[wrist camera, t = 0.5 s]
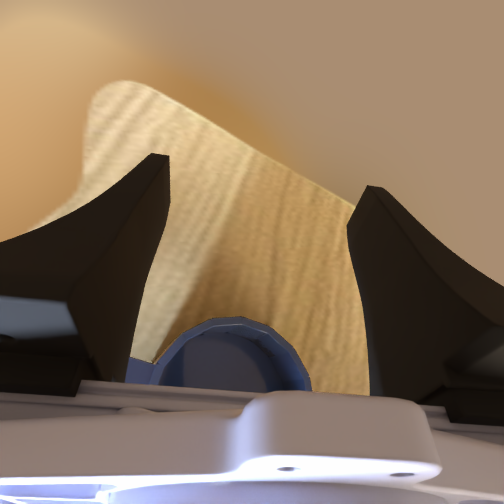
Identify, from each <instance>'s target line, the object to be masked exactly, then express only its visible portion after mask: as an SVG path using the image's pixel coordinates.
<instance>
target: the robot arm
mask: <svg viewBox="0 0 504 504" xmlns="http://www.w3.org/2000/svg"><path fill="white" fill-rule="evenodd" d="M169 207H170V162H169V156H168V155H161V154H155V153H151V154H150V155H148V156H147V157H146V158H145V159H144V160H143V161H141V162H140V163H139V164H138V165H137V166H136V167H135V168H134V169H132V170H131V171H130V172H129V173H128V174H127V175H125V176H124V177H123V178H122V179H121V180H119V181H118V182H117V183H116V184H114V185H113V186H112V187H110V188H109V189H108V190H106V191H105V192H104V193H102V194H101V195H99V196H98V197H97V198H95V199H94V200H92V201H90V202H89V203H87V204H85V205H84V206H82V207H80V208H78V209H77V210H75V211H73V212H71V213H69V214H67V215H65V216H63V217H61V218H59V219H57V220H55V221H53V222H51V223H49V224H47V225H44V226H42V227H40V228H37V229H35V230H33V231H30V232H28V233H25V234H22V235H20V236H17V237H14V238H12V239H9V240H6V241H3V242H0V504H504V287H503V286H502V285H500V284H498V283H497V282H495V281H494V280H492V279H491V278H489V277H487V276H486V275H484V274H483V273H481V272H480V271H478V270H477V269H475V268H474V267H472V266H471V265H469V264H468V263H467V262H465V261H464V260H462V259H461V258H460V257H459V256H457V255H456V254H455V253H453V252H452V251H451V250H450V249H448V248H447V247H446V246H445V245H444V244H443V243H441V242H440V241H439V240H438V239H437V238H436V237H435V236H433V235H432V234H431V233H430V232H429V231H428V230H427V229H426V228H425V227H424V226H423V225H421V224H420V223H419V222H418V221H417V220H416V219H415V218H414V217H413V216H412V215H411V214H410V213H409V212H408V211H407V210H406V209H405V208H404V207H403V206H402V205H401V204H400V203H399V202H398V201H397V200H396V199H395V198H394V197H393V196H392V195H391V194H390V193H389V192H388V191H386V190H385V189H384V188H382V187H374V186H369V185H367V187H366V189H365V191H364V192H363V194H362V196H361V198H360V200H359V202H358V204H357V206H356V208H355V210H354V212H353V214H352V216H351V218H350V220H349V222H348V224H347V239H348V248H349V252H350V257H351V261H352V265H353V269H354V273H355V277H356V281H357V285H358V288H359V292H360V296H361V301H362V306H363V313H364V321H365V328H366V338H367V349H368V363H369V380H370V396H365V395H352V394H338V393H325V392H312V391H299V390H296V391H274V392H269V393H253V392H240V391H226V390H213V389H199V388H186V387H172V386H159V385H145V384H132V383H125V378H126V373H127V367H128V362H129V357H130V352H131V347H132V342H133V337H134V332H135V327H136V323H137V318H138V314H139V309H140V305H141V300H142V296H143V292H144V287H145V283H146V280H147V277H148V274H149V271H150V268H151V265H152V262H153V259H154V257H155V254H156V251H157V248H158V246H159V243H160V240H161V237H162V234H163V231H164V228H165V226H166V221H167V217H168V212H169Z"/></svg>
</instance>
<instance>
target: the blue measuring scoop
mask: <svg viewBox="0 0 504 504" xmlns="http://www.w3.org/2000/svg"><path fill="white" fill-rule="evenodd" d="M125 383H132V384H145V385H159V386H172V387H186V388H199V389H213V390H226V391H240V392H253V393H269V392H274V391H296V390H299V391H312V387H311V381H310V377H309V374H308V373H307V371H306V369H305V367H304V365H303V363H302V362H301V360H300V358H299V356H298V354H297V352H296V351H295V349H294V348H293V346H292V345H290V344H289V343H288V342H287V341H286V340H285V339H284V338H283V337H282V336H280V335H279V334H278V333H277V332H276V331H275V330H274V329H273V328H270V326H267V325H264V324H262V323H259V322H256V321H253V320H251V319H248V318H245V317H241V316H240V317H223V318H212V319H209V320H207V321H205V322H203V323H201V324H199V325H197V326H195V327H193V328H191V329H189V330H187V331H185V332H183V333H182V334H180V335H179V336H178V337H177V338H176V339H175V340H173V341H172V342H171V343H170V344H169V345H168V347H167V348H166V349H165V350H164V351H163V352H162V353H161V355H160V356H159V357H158V358H157V359H156V360H155V362H154V363H153V364H152V363H149V362H145V361H142V360H139V359H136V358H132V357H129V362H128V367H127V373H126V378H125Z"/></svg>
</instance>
